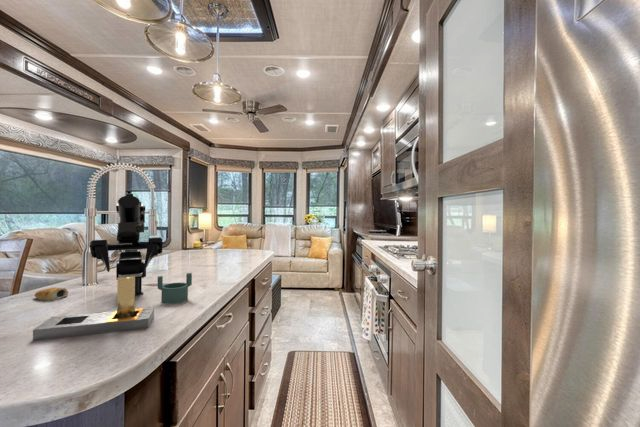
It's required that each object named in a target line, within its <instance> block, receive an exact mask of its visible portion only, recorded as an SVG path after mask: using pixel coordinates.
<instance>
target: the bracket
mask: <svg viewBox="0 0 640 427" xmlns="http://www.w3.org/2000/svg"><path fill="white" fill-rule="evenodd" d="M192 273H193V272H188V273H186V276H185V277H186V281H185V282H171V283H167V284H163V282H164V281H163V278H164V277H163V275H158V276H157V289H158V290H159V291H161V298H160V299H161V303H162V304H165V305H166V304H169V305H171V304H172V305H173V304H179V303H180V304H181V303H183V302H186V301H188V299H189V287H191V286H192V285H193V284H192V282H193V278H192V276H193V274H192Z"/></svg>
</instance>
